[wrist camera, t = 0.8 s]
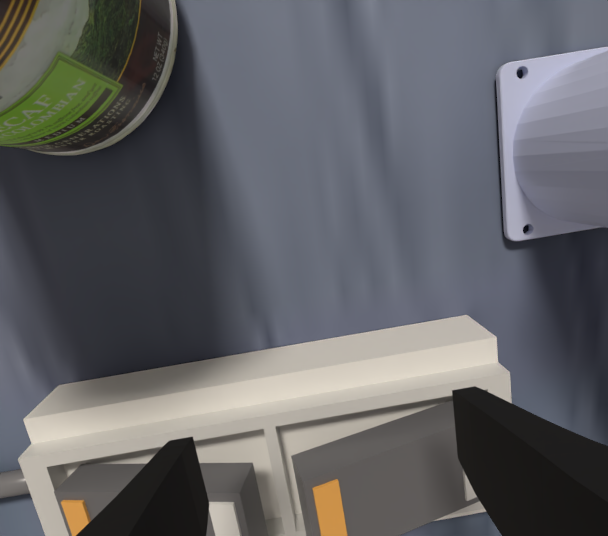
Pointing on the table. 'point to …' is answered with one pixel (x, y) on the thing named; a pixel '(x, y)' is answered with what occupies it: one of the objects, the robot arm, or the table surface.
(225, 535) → the rocker
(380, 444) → the rocker
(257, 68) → the table surface
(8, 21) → the coffee can
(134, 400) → the rocker switch box
